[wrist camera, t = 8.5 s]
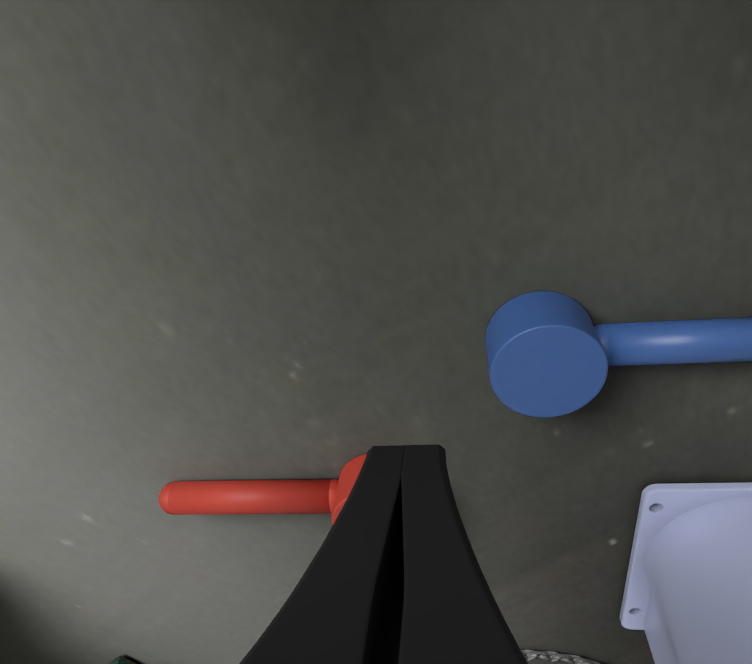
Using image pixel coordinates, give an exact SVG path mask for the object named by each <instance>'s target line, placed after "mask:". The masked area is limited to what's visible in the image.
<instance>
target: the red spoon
mask: <svg viewBox="0 0 752 664" xmlns="http://www.w3.org/2000/svg"><path fill="white" fill-rule="evenodd" d="M366 455H367V454H364V455H360V456H358V457H356V458H354V459H352V460H351V461H349V462H348V463H347V464H346V465H345V466H344V468H343V469H342V471H341V473H340V476H339V480H337V479H289V480H223V481H174V482H171V483H169V484H167V485H166V486H165V487H164V488H163V489H162V490H161V492H160V495H159V504H160V506H161V508H162V509H163V510H164V511H165V512H166V513H169V514H174V515H184V514H332V524H334V522H335V521H336V519H337V517H338V515H339V513H340V511H341V510H342V508H343V506H344V504H345V502H346V500H347V498H348V496H349V494H350V492H351V490H352V488H353V486H354V483H355V481H356V479H357V477H358V475H359V472H360V470H361V468H362V465H363V463H364V461H365V458H366Z"/></svg>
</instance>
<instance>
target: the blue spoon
mask: <svg viewBox="0 0 752 664" xmlns="http://www.w3.org/2000/svg"><path fill="white" fill-rule="evenodd" d="M485 343H486V352H487V360H488V367H489V375H490V382H491V386H492V388H493V391H494V393H495V394H496V396H497V397H498V398H499V399H500V401H501V402H502V403H504V404H505V405H506V406H507V407H509V408H510V409H512V410H514V411H516V412H518V413H521V414H523V415H527V416H532V417H545V418H546V417H556V416H561V415H565V414H568V413H571V412H573V411H576V410H578V409H580V408H581V407H583V406H584V405H586V404H587V403H589V402H590V401H591V400H592V399H593V398H594V397H595V396H596V395H597V394H598V393H599V391H600V390H601V388H602V387H603V385H604V383H605V380H606V377H607V372H608V366H629V365H657V364H685V363H713V362H740V361H752V317H745V318H723V319H701V320H679V321H657V322H635V323H613V324H599V325H595V326H593V323H592V321H591V319H590V317H589V315H588V313H587V311H586V310H585V309H584V307H583V306H582V305H581V304H580V303H578V302H577V301H576V300H574V299H572V298H570V297H569V296H566V295H563V294H560V293H556V292H550V291H538V292H531V293H526V294H523V295H520V296H518V297H516V298H513V299H512V300H510V301H508V302H507V303H505V304H504V305H503V306H502V307H500V308H499V309H498V311H497V312H496V313H495V314H494V315H493V317H492V318H491V320H490V322H489V324H488V327H487V330H486V335H485Z"/></svg>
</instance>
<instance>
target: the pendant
mask: <svg viewBox="0 0 752 664" xmlns="http://www.w3.org/2000/svg"><path fill="white" fill-rule="evenodd" d="M521 652H522V654H523V656H524V654H526V653H528V654H527V656H528V657H530V658H528V657H525V656H524V657H525V659H526V660H531V659H533V658H535V659H538V658H542V659H545V660H547V661H550V662H554V661H556V660H557V661H565V662H568V663H570V664H601V663H598V662H595V661H592V660H589V659H585V658H582V657H580V656H576V655H569V654H566V655H565V654H558V653H557V652H550V651H543V652H540V651H534V650H521ZM537 654H541V655H540V656H539V657H537V656H538V655H537ZM551 654H553V655H551ZM547 655H551V656H550V657H551V658H552V659H550V658H547ZM561 657H564V658H563V659H562V658H561ZM571 658H575V659H573V660H574V661H575V662H576V663H574V662H572V661H570V659H571ZM559 659H561V660H559ZM584 661H586V662H585V663H584Z"/></svg>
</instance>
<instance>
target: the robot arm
mask: <svg viewBox="0 0 752 664" xmlns="http://www.w3.org/2000/svg"><path fill="white" fill-rule="evenodd" d="M653 504H654V505H653ZM620 621H621V625H622V626H623V627H625V628H627V629H637V630H645V633H646V637H647V640H648V643H649V646H650V649H651V653H652V656H653V659H654V662H655V664H752V482H746V483H669V484H651V485H649V486H647V487H646V488H645V489H643V491H642V495H641V501H640V506H639V512H638V517H637V523H636V528H635V534H634V539H633V545H632V550H631V556H630V561H629V567H628V573H627V578H626V584H625V589H624V595H623V600H622V606H621V611H620ZM240 664H528V663H527V661H526V659H525V657H524V656H523V654H522V652H521V650H520V648H519V646H518V645H517V643H516V641H515V639H514V637H513V635H512V633H511V631H510V629H509V627H508V626H507V624H506V622H505V620H504V618H503V616H502V614H501V612H500V610H499V608H498V606H497V603H496V601H495V599H494V597H493V595H492V593H491V591H490V589H489V586H488V584H487V582H486V580H485V577H484V575H483V573H482V571H481V569H480V566H479V564H478V562H477V559H476V557H475V554H474V552H473V550H472V547H471V544H470V542H469V539H468V536H467V534H466V531H465V528H464V526H463V523H462V520H461V518H460V515H459V512H458V509H457V506H456V502H455V499H454V495H453V492H452V489H451V485H450V481H449V476H448V471H447V465H446V454H445V449H444V448H443V447H441V446H440V445H403V446H373V447H372V448H371V449H370V450H369V451H368V453H367V455H366V458H365V461H364V463H363V465H362V468H361V470H360V472H359V475H358V477H357V479H356V481H355V483H354V486H353V488H352V490H351V492H350V494H349V496H348V498H347V500H346V502H345V504H344V506H343V508H342V510H341V511H340V513H339V515H338V517H337V519H336V521H335V522H334V524H333V526H332V528H331V530H330V532H329V533H328V535H327V537H326V539H325V541H324V542H323V544H322V546H321V547H320V549H319V551H318V552H317V554H316V556H315V557H314V559H313V560H312V562H311V564H310V565H309V567H308V568H307V570H306V572H305V573H304V575H303V576H302V578H301V580H300V581H299V583H298V584H297V586H296V587H295V589H294V590H293V592H292V593H291V595H290V596H289V598H288V599H287V601H286V602H285V604H284V605H283V607H282V608H281V609H280V611H279V612H278V614H277V615H276V617H275V618H274V619H273V621H272V622H271V623H270V625H269V626H268V627H267V629H266V630H265V632H264V633H263V634H262V636H261V637H260V638H259V640H258V641H257V642H256V644H255V645H254V646H253V647H252V649H251V650H250V651H249V652H248V654H247V655H246V656H245V657H244V659H243V660H242V661H241V662H240Z"/></svg>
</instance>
